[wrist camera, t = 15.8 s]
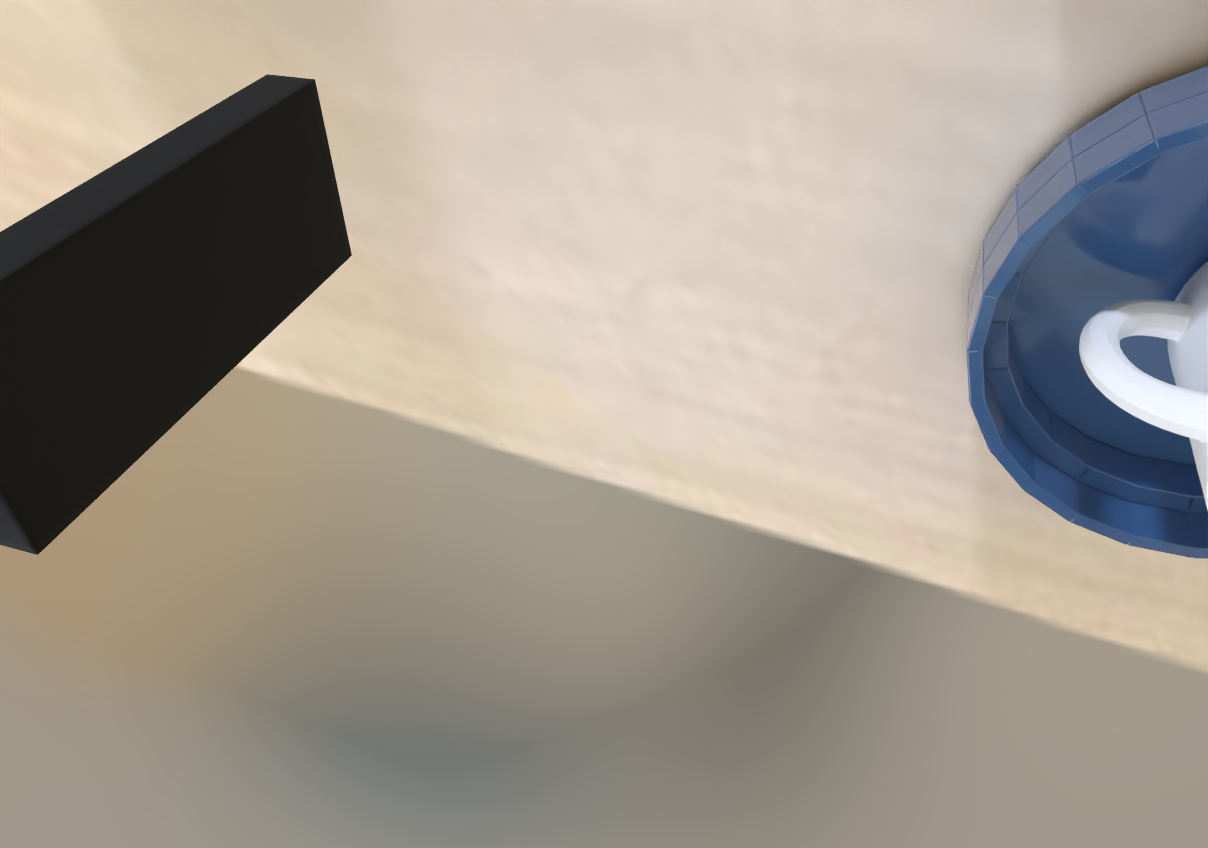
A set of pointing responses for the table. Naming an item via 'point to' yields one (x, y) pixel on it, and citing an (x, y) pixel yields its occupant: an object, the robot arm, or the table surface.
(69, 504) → the robot arm
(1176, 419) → the mug
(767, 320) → the table surface
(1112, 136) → the bowl
